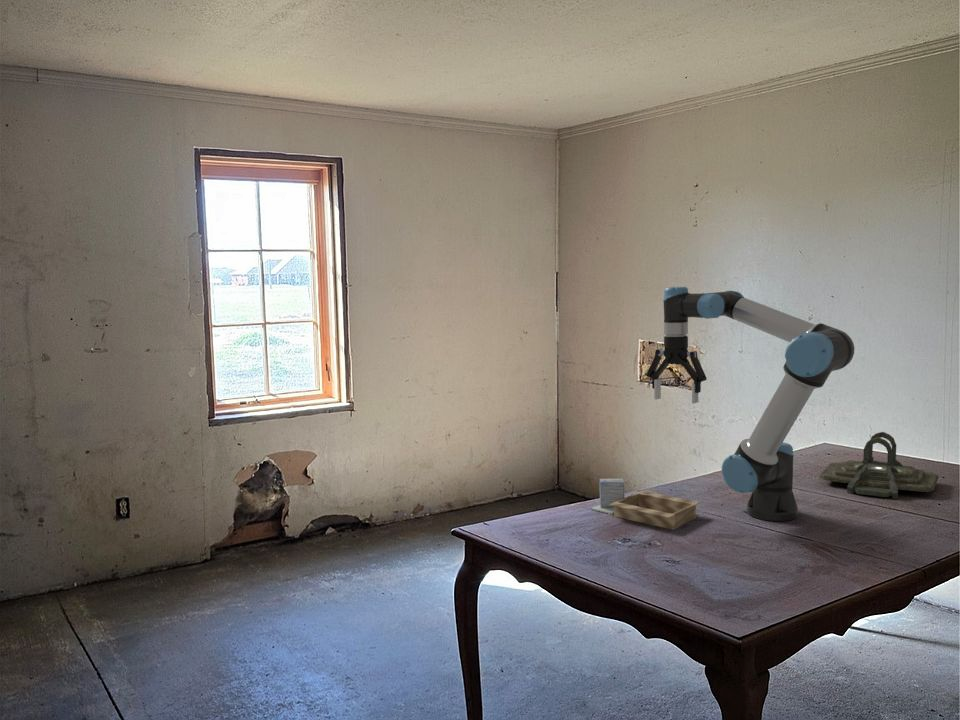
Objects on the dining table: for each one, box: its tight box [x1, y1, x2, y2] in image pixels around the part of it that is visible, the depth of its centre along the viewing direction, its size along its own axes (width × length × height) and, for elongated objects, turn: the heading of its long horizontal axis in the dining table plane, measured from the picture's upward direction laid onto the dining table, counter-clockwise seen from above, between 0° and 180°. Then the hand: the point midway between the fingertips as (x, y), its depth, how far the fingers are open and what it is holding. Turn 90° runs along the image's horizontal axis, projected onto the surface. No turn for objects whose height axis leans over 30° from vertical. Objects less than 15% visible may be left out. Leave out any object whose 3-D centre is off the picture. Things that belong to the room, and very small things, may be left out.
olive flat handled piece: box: [819, 431, 939, 500], centre depth 282 cm, size 35×34×18 cm
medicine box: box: [599, 478, 626, 508], centre depth 266 cm, size 8×4×9 cm, turn 84°
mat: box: [590, 504, 614, 515], centre depth 267 cm, size 8×12×1 cm, turn 137°
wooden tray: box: [609, 490, 701, 531], centre depth 256 cm, size 21×19×4 cm
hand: (676, 400), depth 263 cm, fingers open, 13 cm apart
